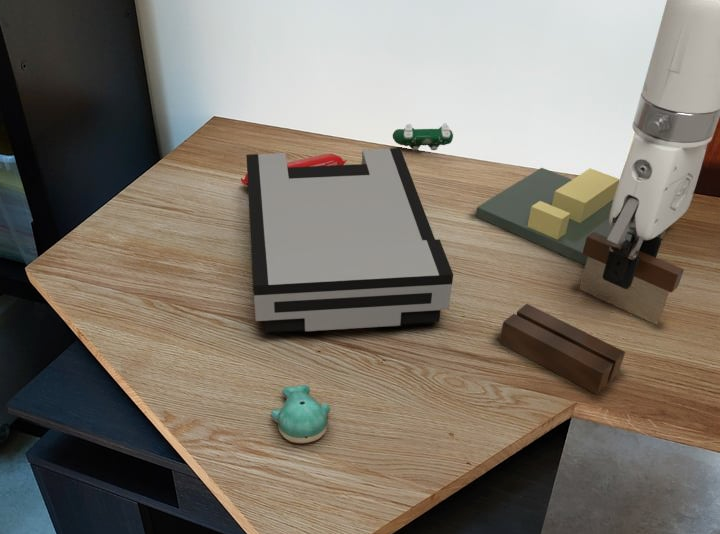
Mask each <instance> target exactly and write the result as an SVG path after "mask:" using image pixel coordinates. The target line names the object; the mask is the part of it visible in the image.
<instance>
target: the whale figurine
mask: <svg viewBox="0 0 720 534" xmlns="http://www.w3.org/2000/svg"><path fill="white" fill-rule="evenodd" d="M310 390H311V389H310V386H309V385H306V384H303V385H297V386H286V387H283V388H282V390H281V394H282V395H283V397H284V398H285V399H286V400H285V402H284V404H283V406H282V407H281V408H280V409H279V408H278V409H273V410H272V411H271V413H270V418H271V419H272V420H273V421H274V422H276V423H277V426H278V430H279V433H280V434H281V436H282V437H283V438H284V439H285V440H287V441H289V442H291V443H294V444H295V443H296V444H307V443H313V442H316V441H317V440H319V439H321V438H322V437H323V436H324V435H325V433H326V431H327V428H328V415H329V414H330V412H331V407H330V406H329V405H328V404H327V403H321V404H320V403H319V402H318V401H316V400H315V398H313V397H312V396H311V395H309V394H310Z"/></svg>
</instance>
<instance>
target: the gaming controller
mask: <svg viewBox="0 0 720 534" xmlns="http://www.w3.org/2000/svg"><path fill="white" fill-rule="evenodd" d="M392 139H393V141H394V142H395V143H396V144H397V145H400V146H404V147H410V149H411V150H412V151H413V152H415V151H419V149H420V147H421V146H428V147H429V148H430V150H431V151H437V150H438V148H439V147H440V146H447V145H449V144H452V142H453V139H454V132H453V131H452V130H451V129H450V126H449V124H448V123H446V122H445V123H443V124H441V126H440V127H439V128H414V127H413V125H412V124H411V123H407V124H406V125H405V128H397V129H395V130H394V132H393V133H392Z"/></svg>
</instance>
